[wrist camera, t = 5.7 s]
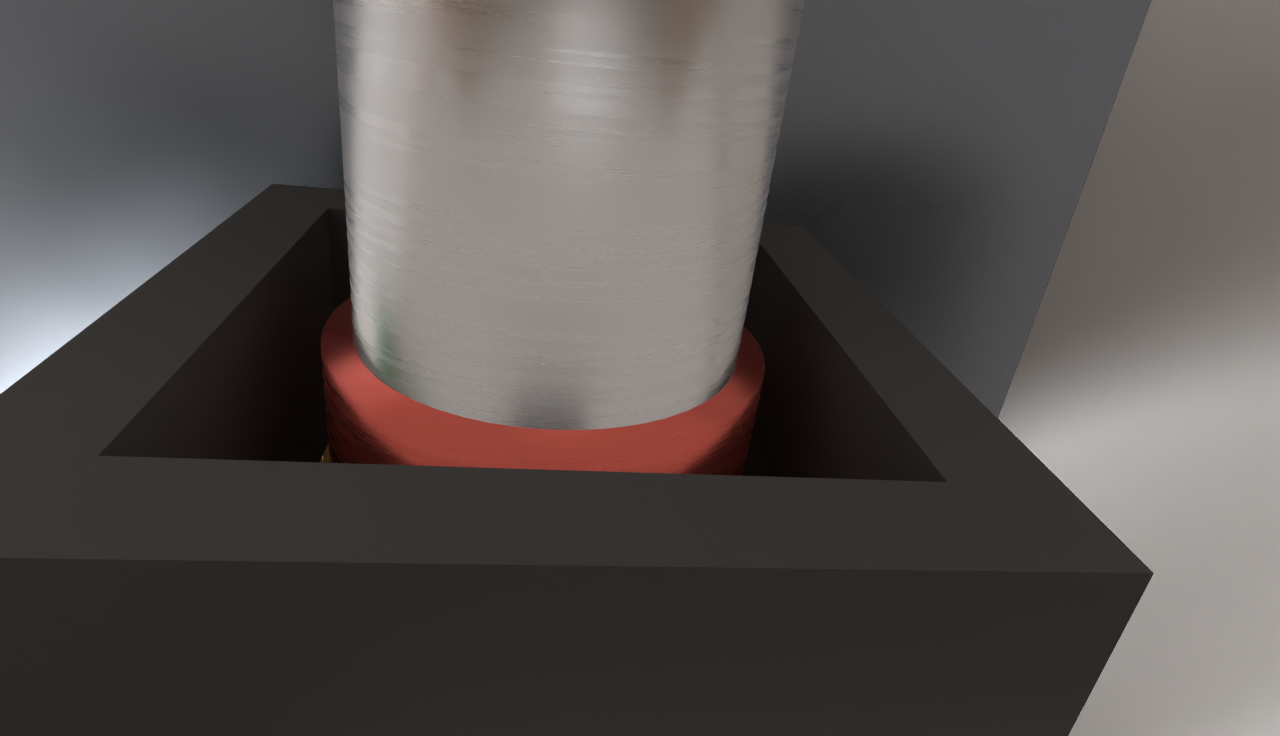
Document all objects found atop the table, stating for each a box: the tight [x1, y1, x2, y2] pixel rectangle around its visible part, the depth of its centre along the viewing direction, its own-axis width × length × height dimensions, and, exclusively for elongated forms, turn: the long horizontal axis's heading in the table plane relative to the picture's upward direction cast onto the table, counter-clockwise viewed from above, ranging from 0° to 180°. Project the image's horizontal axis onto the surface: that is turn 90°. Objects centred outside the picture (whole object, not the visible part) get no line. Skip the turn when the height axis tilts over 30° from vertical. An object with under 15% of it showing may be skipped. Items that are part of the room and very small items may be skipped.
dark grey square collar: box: [0, 184, 1153, 736], centre depth 4 cm, size 2×4×4 cm, turn 84°
